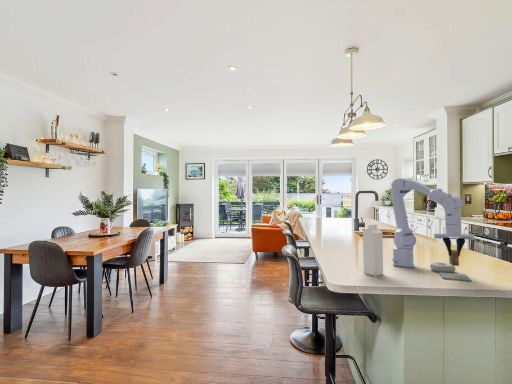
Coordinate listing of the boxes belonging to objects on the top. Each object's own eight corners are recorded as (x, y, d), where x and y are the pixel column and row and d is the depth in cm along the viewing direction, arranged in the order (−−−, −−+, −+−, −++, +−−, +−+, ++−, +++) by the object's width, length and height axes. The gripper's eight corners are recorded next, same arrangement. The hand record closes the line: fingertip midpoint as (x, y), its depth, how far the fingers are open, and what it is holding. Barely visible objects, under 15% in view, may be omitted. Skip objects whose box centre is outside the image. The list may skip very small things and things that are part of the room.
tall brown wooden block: (452, 265, 125) (451, 251, 125) (449, 262, 130) (449, 249, 131) (458, 265, 124) (458, 251, 124) (455, 263, 129) (455, 249, 130)
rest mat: (442, 278, 122) (442, 277, 122) (439, 273, 132) (439, 271, 132) (471, 281, 118) (471, 280, 118) (465, 275, 127) (465, 274, 127)
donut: (460, 264, 132) (444, 267, 129) (461, 272, 132) (444, 274, 129) (440, 260, 142) (424, 262, 139) (440, 267, 142) (425, 269, 139)
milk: (383, 274, 131) (382, 225, 132) (374, 276, 128) (373, 225, 129) (372, 271, 137) (371, 224, 137) (363, 273, 134) (362, 224, 134)
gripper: (435, 224, 126) (436, 256, 126) (476, 225, 120) (477, 258, 120) (432, 223, 133) (433, 253, 132) (471, 224, 127) (472, 255, 127)
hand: (454, 255), depth 127 cm, fingers closed on tall brown wooden block, 2 cm apart
